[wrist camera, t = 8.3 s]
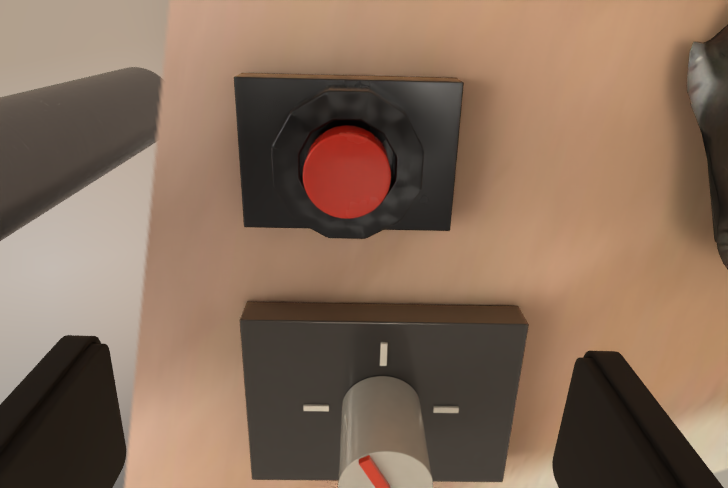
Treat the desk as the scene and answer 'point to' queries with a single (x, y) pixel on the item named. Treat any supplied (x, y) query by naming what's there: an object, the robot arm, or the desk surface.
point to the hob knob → (383, 437)
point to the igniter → (354, 108)
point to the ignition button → (347, 172)
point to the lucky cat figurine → (713, 123)
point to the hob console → (380, 358)
